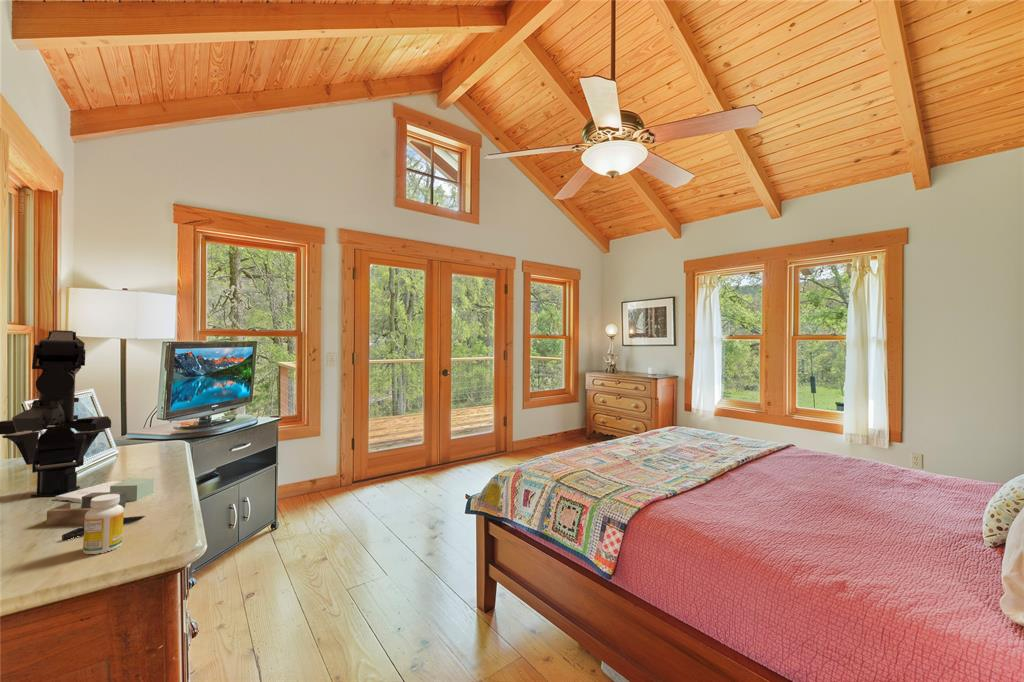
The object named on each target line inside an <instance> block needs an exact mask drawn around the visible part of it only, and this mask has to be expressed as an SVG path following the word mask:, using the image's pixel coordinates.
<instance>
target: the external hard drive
mask: <svg viewBox="0 0 1024 682" xmlns="http://www.w3.org/2000/svg"><path fill="white" fill-rule="evenodd" d="M119 482H120V481H117V480H116V481H113V480H111V481H108V482H102V483H99V484H95V485H93V486H92V485H91V486H89V487H85V488H81V489H76V490H73V491H70V492H68V493H65V494H62V495H58V496H54V500H55V499H58V500H57V501H62V500H68V501H67V502H71V501H72V502H74V503H81V502H82V497H83V496H85V495H88V494H91V493H100V492H110V486H111V485H114V484H116V483H119ZM72 502H71V503H72Z"/></svg>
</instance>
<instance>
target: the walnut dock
mask: <svg viewBox="0 0 1024 682" xmlns="http://www.w3.org/2000/svg"><path fill="white" fill-rule="evenodd" d="M71 503H72V502H67V503H63V504H61V505H58V506H55V507H54V508H51V509H49V510H47V511H46V526H67V525H69V526H70V525H72V524H76V525H84V522H85V514H86V513H87V512H88V511H89V510H91V509H92V508H81V507H80V508H71V507H72V505H71Z"/></svg>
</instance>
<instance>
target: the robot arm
mask: <svg viewBox="0 0 1024 682" xmlns="http://www.w3.org/2000/svg"><path fill="white" fill-rule="evenodd" d="M33 348H34V349H33V355H32V356H33V357H32V364H31V365H32V366H31V370H42V372H41V373H40V374H39V376H38V377H37V379H36V381H35V388H36V390H37V391H38V399H33V402H32V403H31V408H29V409H26V410H23V411H22V412H20V413H18V414H16V415H14V416H12V417H11V419H7V420H1V421H0V435H1V437H2V438H3V439H8V440H10V441H11V442H13V443H14V444H15V446H16V447H17V449H18V451H19V453H20V454H21V457H22V458H23V460H24V462H25V464H26V466H29V465H31V467H32V469H31V471H32V474H34V473H37V475H36V479H37V480H36V492H34V493H31V494H30V497H55V496H58V495H62V494H66V493H70V492H73V491H77V490H80V488H81V486H80V485H77V483H78V481H77V478H78V472H77V471H76V468H80V467H83V466H84V461H85V459H84V458H85V455H86V453H88V450H89V449H90V447H91V446H92V443H93V442H94V441H95V439H97V437H98V436H99V434H100V433H103V432H105V430H106V429H111V428H112V420H111V418H110V417H109V416H106V415H105V416H88V417H82V418H79V415H78V414H75V403H79V400H80V398H79V397H75V392H76V390H75V389H76V374H78V373H79V371H80V370H81V369H82V366H86V349H85V342H84V341H82V340H81V339H80V338H78V337H77V331H73V330H59V329H58V330H57V329H53V330H49V331H48V336H47V337H46V338H44V339H40V340H39V341H38V343H37V344H35V343H34V346H33ZM72 429H74V430H75V431H76V432H75V431H73V430H72ZM43 430H45V431H44V432H43V433H41V434H40V432H41V431H43Z"/></svg>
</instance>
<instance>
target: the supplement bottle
mask: <svg viewBox="0 0 1024 682" xmlns="http://www.w3.org/2000/svg"><path fill="white" fill-rule="evenodd" d="M119 501H120V495H119V494H106V495H101V496H97V497H94V498H92V499H91V505H90V506H91V508H92V509H91V510H89V511H88V512H87V513H86V514H85V522H84V524H83V525H84V526H83V527H84V535H83V542H82V552H83V553H84V554H85V555H88V554H95V555H100V554H99V553H101V554H105V553H104V552H106V553H108V552H107V551H109V552H112V551H115V550H116V549H118V548H120V547H121V545H122V544H123V535H124V534H123V533H124V532H123V530H124V529H123V528H124V525H123V518H124V516H125V514H124V513H125V512H124V510H125V509H124V508H125V507H124V508H123V507H122V506H121V505H117V504H118V503H119ZM119 546H120V547H119ZM111 550H112V551H111Z"/></svg>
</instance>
